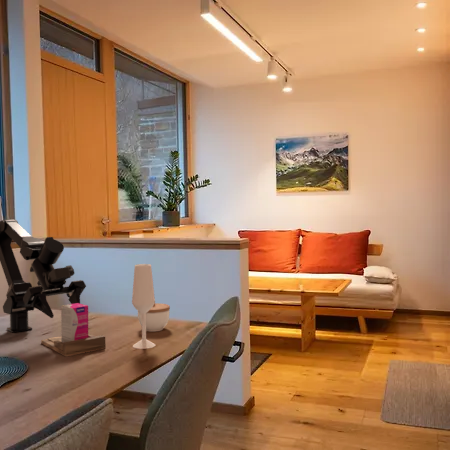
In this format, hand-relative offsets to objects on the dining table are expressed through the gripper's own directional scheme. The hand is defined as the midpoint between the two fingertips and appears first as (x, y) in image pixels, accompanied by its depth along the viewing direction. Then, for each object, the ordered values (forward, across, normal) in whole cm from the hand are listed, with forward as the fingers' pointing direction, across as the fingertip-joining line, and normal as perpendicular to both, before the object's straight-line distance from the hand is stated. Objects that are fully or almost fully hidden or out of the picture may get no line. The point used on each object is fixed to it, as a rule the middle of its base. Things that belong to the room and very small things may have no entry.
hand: (66, 314), depth 156 cm
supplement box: (+9, 0, +3) cm, 9 cm away
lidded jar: (+11, +29, +2) cm, 31 cm away
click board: (+8, 0, +4) cm, 9 cm away
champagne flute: (+20, +14, -7) cm, 25 cm away
